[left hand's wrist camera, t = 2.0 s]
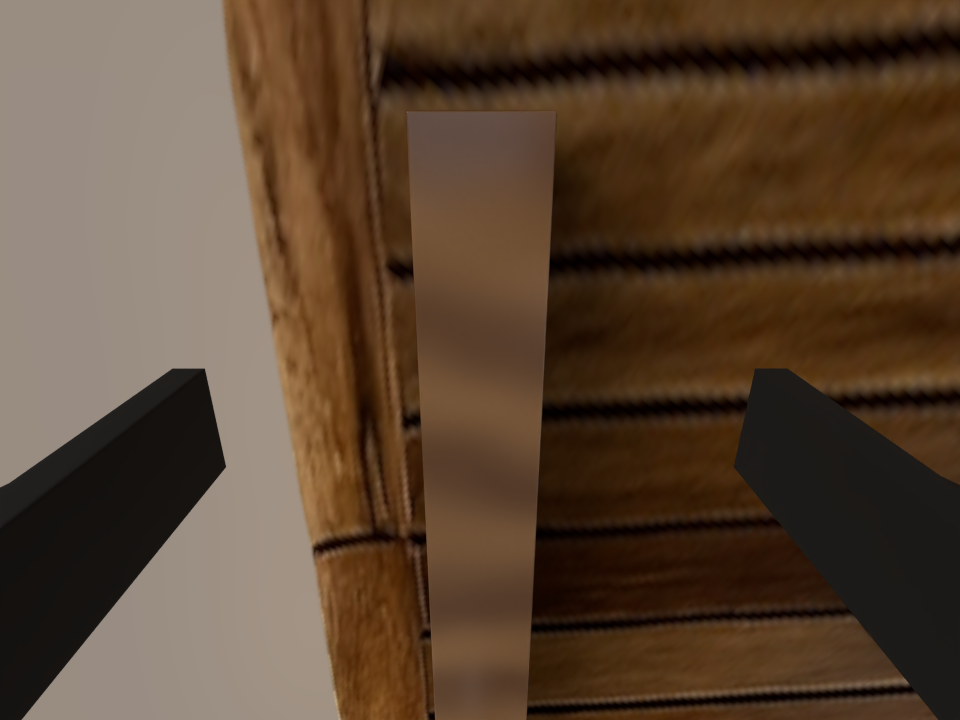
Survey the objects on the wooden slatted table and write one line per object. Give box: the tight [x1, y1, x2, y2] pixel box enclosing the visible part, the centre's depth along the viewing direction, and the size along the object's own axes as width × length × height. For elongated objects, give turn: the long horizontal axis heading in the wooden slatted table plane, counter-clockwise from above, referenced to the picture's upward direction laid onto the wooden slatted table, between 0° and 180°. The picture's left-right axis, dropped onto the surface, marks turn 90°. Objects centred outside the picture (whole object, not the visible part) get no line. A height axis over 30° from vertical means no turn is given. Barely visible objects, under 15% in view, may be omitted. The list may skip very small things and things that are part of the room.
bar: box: [406, 110, 557, 720], centre depth 33 cm, size 69×5×8 cm, turn 0°
